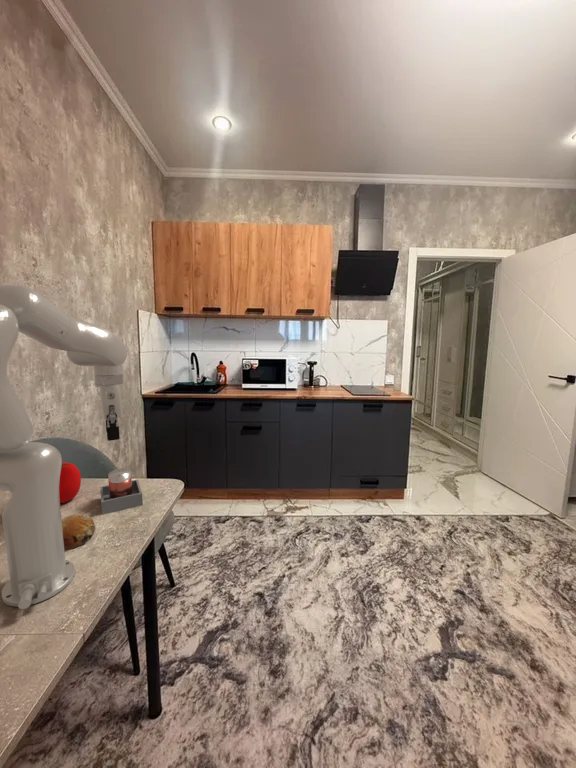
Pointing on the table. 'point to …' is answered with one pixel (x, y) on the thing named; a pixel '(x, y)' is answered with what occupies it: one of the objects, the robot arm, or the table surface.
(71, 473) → the tomato
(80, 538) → the bread roll
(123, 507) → the crate
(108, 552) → the table surface
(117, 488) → the red drink can
